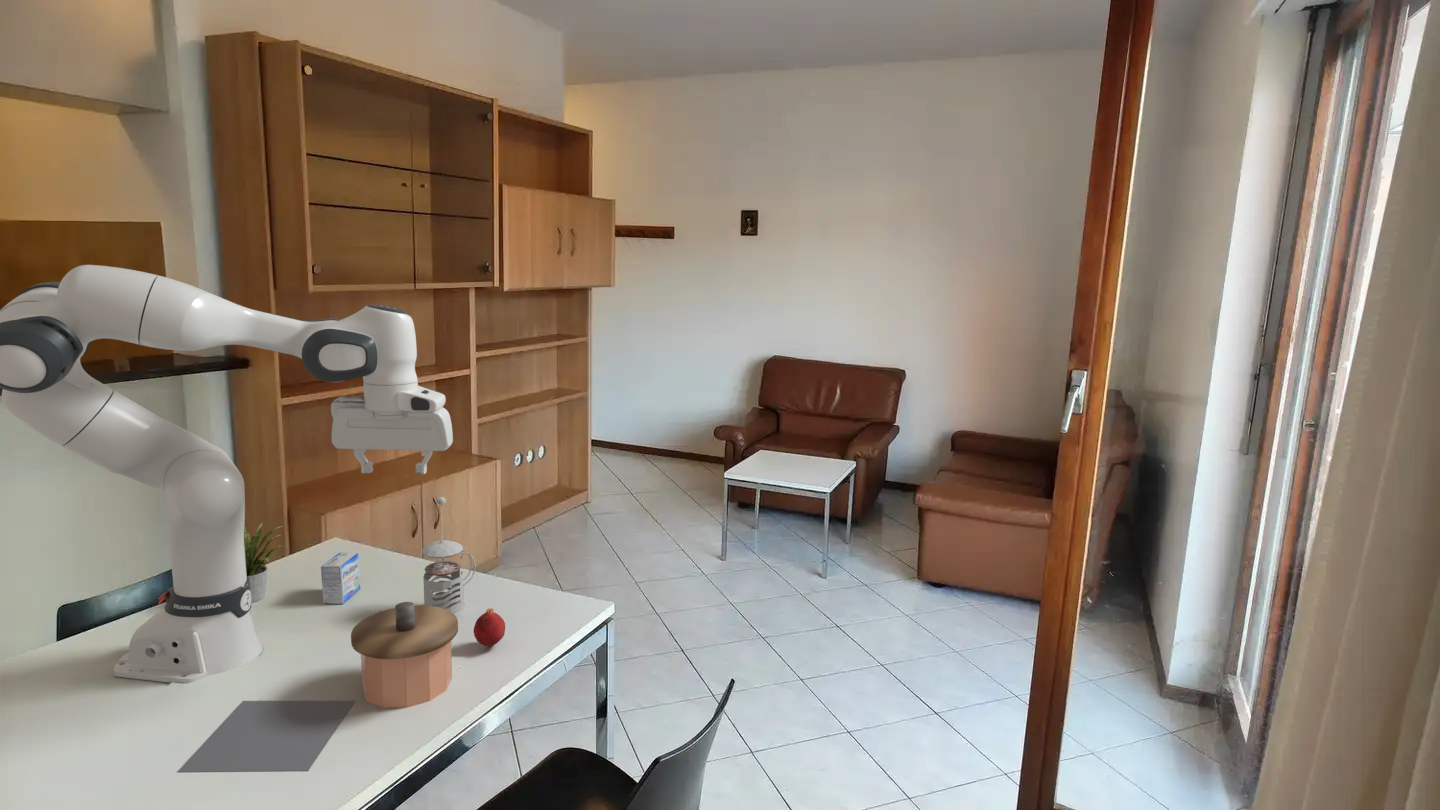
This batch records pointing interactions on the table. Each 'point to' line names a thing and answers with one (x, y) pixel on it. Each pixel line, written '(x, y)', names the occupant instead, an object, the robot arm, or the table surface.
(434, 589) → the french press
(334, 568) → the medicine box
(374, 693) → the flower pot
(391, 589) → the table surface
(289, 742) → the mat
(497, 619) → the red pomegranate
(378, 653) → the lid
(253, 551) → the house plant
